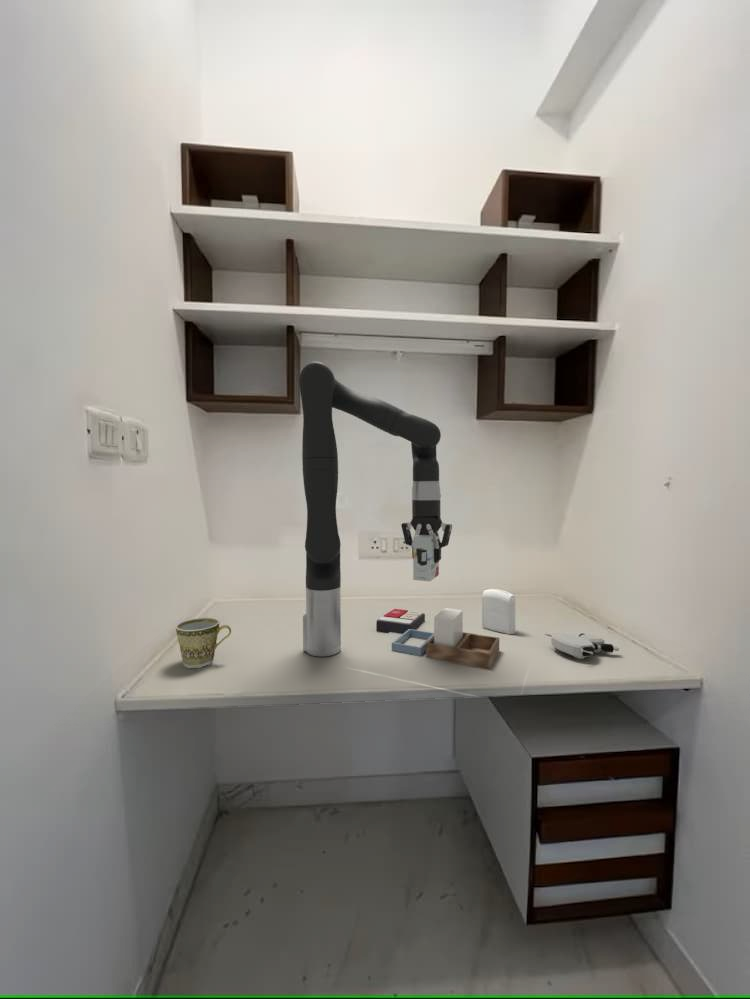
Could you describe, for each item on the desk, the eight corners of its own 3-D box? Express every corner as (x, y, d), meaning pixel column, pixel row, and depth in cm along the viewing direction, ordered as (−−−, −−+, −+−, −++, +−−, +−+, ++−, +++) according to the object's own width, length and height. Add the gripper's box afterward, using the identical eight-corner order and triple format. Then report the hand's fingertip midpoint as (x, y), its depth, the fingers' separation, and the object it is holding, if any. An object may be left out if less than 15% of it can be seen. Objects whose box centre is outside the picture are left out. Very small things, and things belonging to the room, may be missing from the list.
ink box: (422, 573, 119) (422, 531, 118) (439, 575, 117) (439, 532, 116) (412, 580, 111) (412, 535, 110) (430, 581, 109) (430, 536, 108)
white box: (434, 655, 109) (434, 617, 108) (444, 643, 117) (444, 607, 116) (453, 659, 106) (453, 619, 106) (462, 646, 114) (462, 610, 114)
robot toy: (583, 644, 120) (541, 647, 115) (584, 628, 120) (542, 631, 115) (622, 660, 109) (578, 665, 103) (623, 643, 109) (579, 647, 103)
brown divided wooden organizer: (426, 658, 108) (426, 643, 108) (440, 642, 119) (440, 628, 119) (489, 671, 101) (489, 654, 101) (499, 652, 112) (499, 637, 112)
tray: (391, 652, 112) (391, 642, 112) (408, 637, 123) (408, 628, 123) (420, 657, 109) (420, 648, 108) (436, 642, 119) (436, 633, 119)
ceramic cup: (169, 672, 100) (168, 631, 100) (185, 655, 110) (184, 617, 110) (225, 671, 101) (225, 629, 101) (236, 654, 111) (236, 616, 111)
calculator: (425, 611, 138) (410, 622, 124) (425, 624, 138) (410, 637, 124) (393, 607, 142) (376, 617, 128) (393, 620, 142) (375, 632, 128)
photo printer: (479, 627, 131) (479, 588, 131) (487, 624, 134) (487, 585, 134) (510, 636, 124) (510, 594, 124) (517, 632, 127) (517, 591, 127)
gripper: (395, 498, 113) (396, 562, 113) (448, 499, 107) (448, 566, 107) (406, 497, 120) (407, 557, 120) (456, 497, 113) (456, 561, 114)
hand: (426, 561), depth 114 cm, fingers closed on ink box, 5 cm apart
